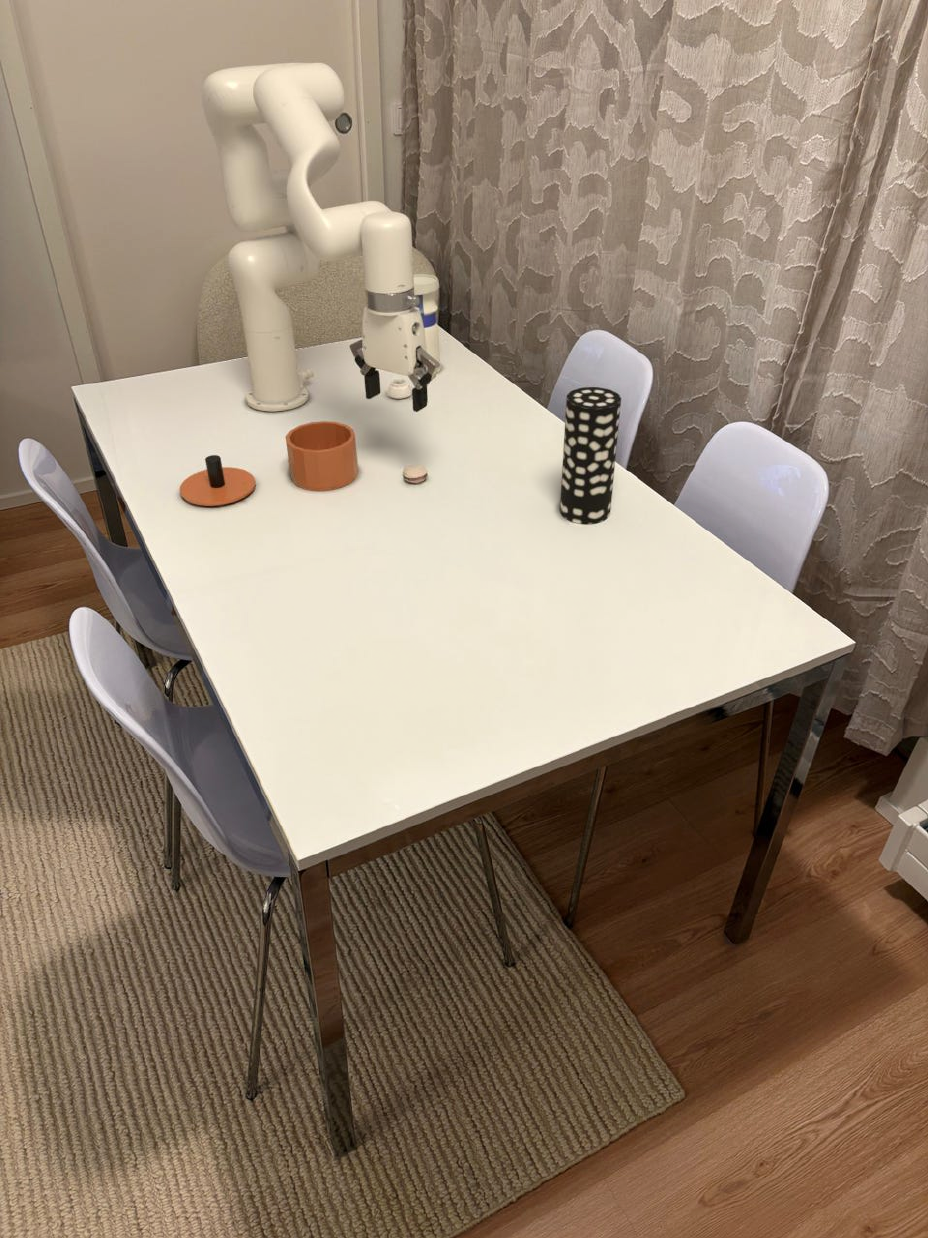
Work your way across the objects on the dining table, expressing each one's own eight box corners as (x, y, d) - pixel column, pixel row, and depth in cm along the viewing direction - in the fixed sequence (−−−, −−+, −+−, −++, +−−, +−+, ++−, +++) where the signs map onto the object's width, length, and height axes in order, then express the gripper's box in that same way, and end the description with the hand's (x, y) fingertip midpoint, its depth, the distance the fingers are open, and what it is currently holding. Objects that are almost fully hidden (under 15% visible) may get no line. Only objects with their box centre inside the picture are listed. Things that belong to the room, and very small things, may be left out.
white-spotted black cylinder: (616, 504, 157) (628, 392, 145) (601, 528, 151) (611, 412, 139) (569, 494, 160) (577, 383, 148) (552, 517, 154) (558, 403, 142)
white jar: (386, 400, 192) (411, 400, 192) (385, 386, 190) (410, 386, 190) (388, 390, 196) (412, 390, 196) (387, 376, 194) (411, 376, 194)
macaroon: (413, 488, 162) (412, 475, 160) (395, 478, 165) (394, 465, 163) (432, 480, 164) (432, 467, 163) (414, 470, 167) (414, 457, 166)
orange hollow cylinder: (320, 453, 173) (316, 415, 168) (371, 469, 168) (368, 431, 163) (277, 479, 165) (271, 440, 160) (329, 497, 160) (324, 457, 155)
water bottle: (399, 375, 202) (393, 255, 187) (408, 360, 209) (402, 243, 194) (437, 377, 201) (433, 257, 186) (444, 362, 208) (441, 245, 193)
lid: (218, 466, 169) (212, 435, 166) (271, 484, 164) (266, 452, 160) (164, 496, 161) (157, 464, 157) (219, 516, 155) (212, 483, 151)
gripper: (449, 301, 144) (452, 405, 154) (361, 283, 152) (369, 384, 162) (421, 315, 139) (425, 422, 149) (331, 296, 147) (341, 399, 157)
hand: (396, 402), depth 156 cm, fingers open, 9 cm apart
